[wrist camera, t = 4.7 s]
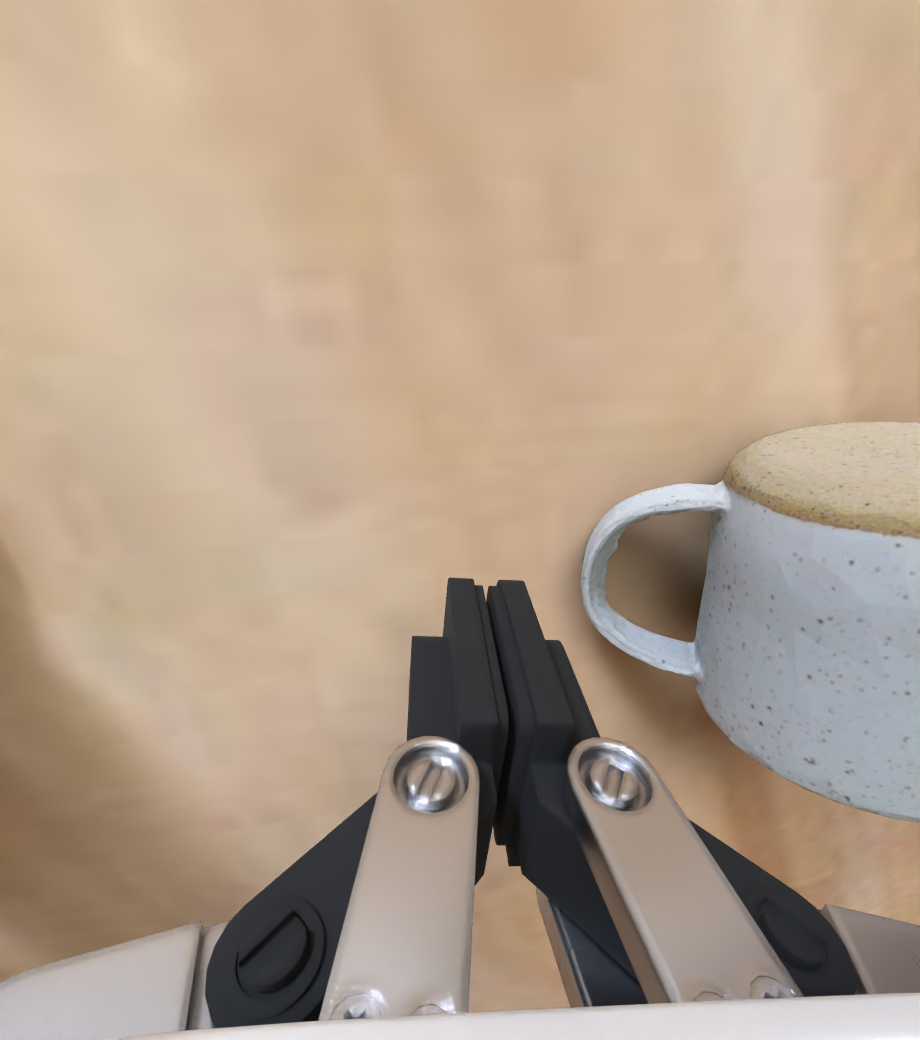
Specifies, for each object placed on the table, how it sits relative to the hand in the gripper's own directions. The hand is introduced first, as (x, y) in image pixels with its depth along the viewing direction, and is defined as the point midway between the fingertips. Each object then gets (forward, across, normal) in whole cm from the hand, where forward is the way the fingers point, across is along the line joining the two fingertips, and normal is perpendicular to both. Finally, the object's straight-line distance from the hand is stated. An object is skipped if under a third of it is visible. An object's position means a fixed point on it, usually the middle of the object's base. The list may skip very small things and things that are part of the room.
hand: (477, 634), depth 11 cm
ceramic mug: (+5, -9, 0) cm, 11 cm away
